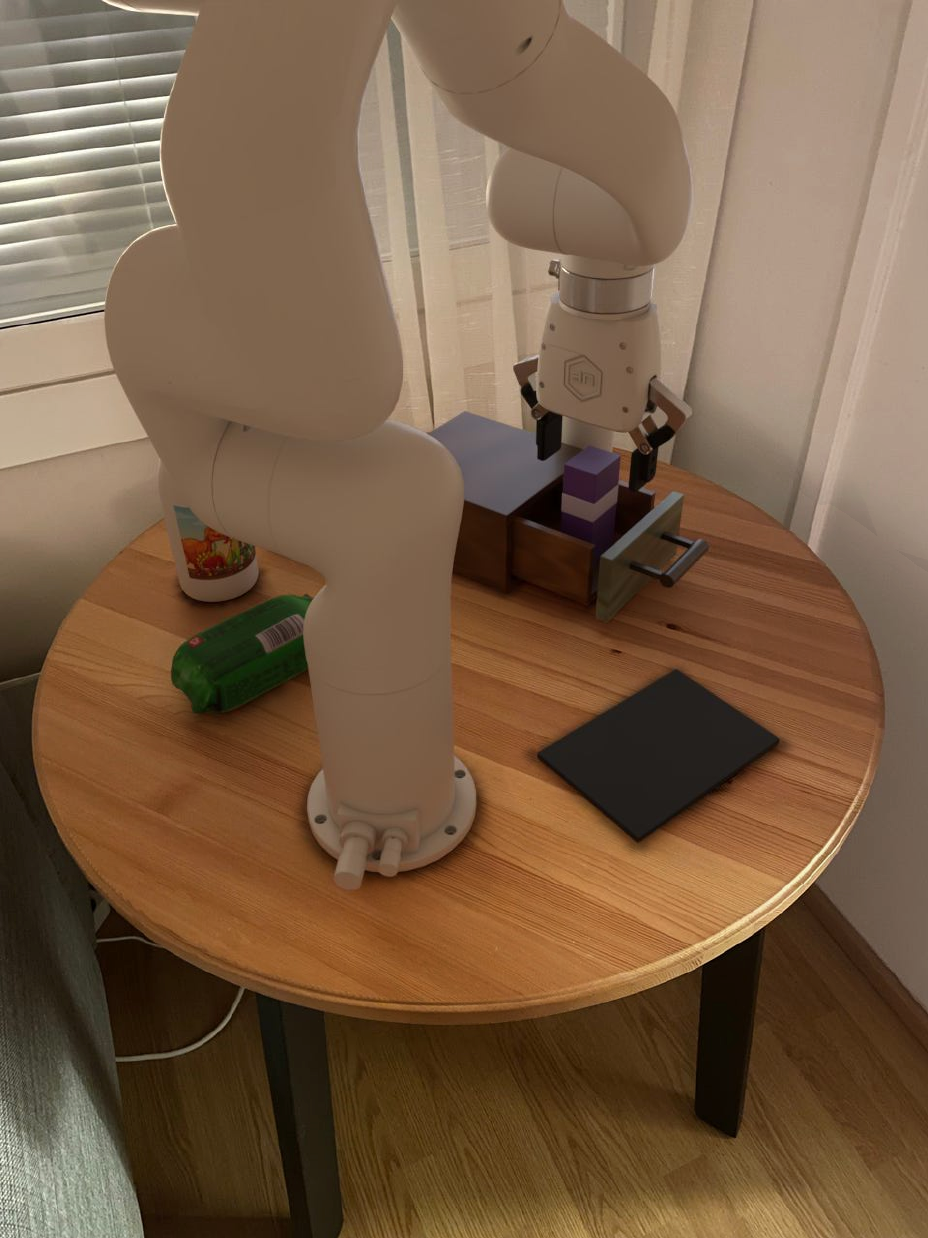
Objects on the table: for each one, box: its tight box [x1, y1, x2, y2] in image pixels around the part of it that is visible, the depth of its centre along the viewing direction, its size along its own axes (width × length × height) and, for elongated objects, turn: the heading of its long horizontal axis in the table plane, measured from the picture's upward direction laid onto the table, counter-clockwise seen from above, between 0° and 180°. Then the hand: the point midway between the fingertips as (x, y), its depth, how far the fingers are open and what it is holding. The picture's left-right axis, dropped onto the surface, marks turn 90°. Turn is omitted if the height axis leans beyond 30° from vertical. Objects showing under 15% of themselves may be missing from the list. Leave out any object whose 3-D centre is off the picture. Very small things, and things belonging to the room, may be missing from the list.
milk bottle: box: [156, 458, 260, 603], centre depth 93 cm, size 8×8×20 cm
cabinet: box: [427, 410, 584, 594], centre depth 102 cm, size 16×15×9 cm
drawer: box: [511, 479, 709, 624], centre depth 96 cm, size 19×14×7 cm
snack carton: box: [561, 446, 622, 566], centre depth 94 cm, size 4×4×10 cm
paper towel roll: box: [562, 416, 615, 453], centre depth 104 cm, size 7×6×21 cm
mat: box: [536, 668, 780, 844], centre depth 79 cm, size 16×11×1 cm
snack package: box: [170, 593, 314, 716], centre depth 86 cm, size 7×16×5 cm, turn 131°
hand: (593, 469), depth 92 cm, fingers open, 9 cm apart
